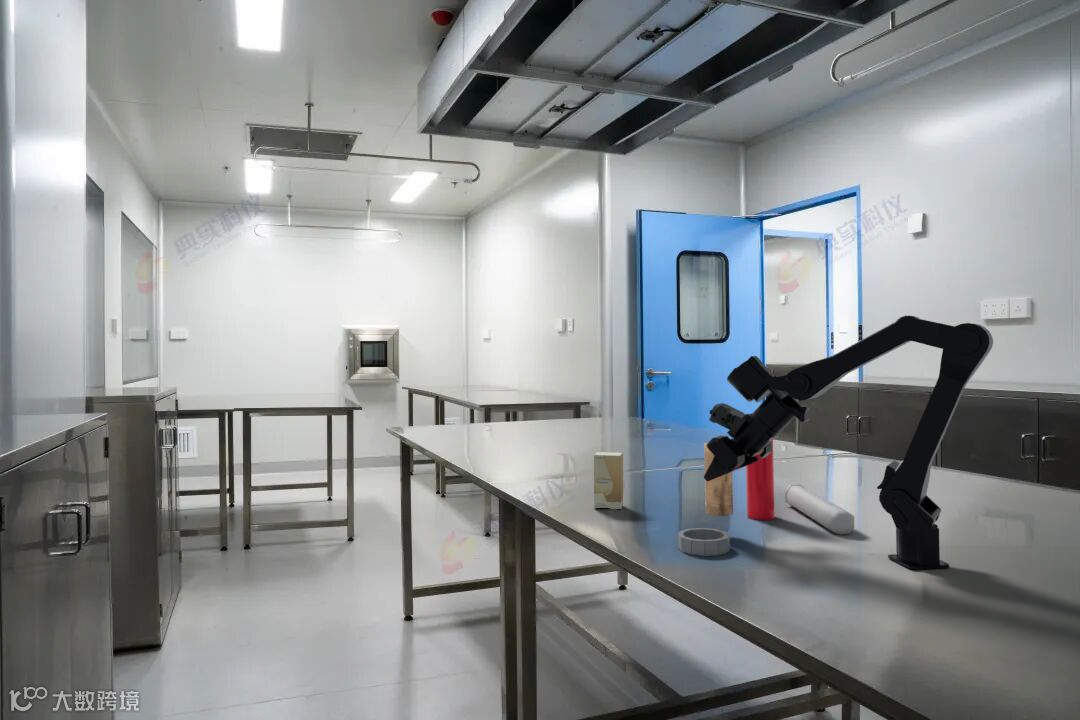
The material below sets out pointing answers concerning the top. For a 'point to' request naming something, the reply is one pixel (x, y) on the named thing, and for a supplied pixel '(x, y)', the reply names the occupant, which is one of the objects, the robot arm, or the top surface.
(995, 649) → the top surface
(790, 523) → the top surface
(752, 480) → the bottle
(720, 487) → the copper stub
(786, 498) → the tube
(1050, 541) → the top surface
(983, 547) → the top surface
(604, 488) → the skincare box
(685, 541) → the collar
